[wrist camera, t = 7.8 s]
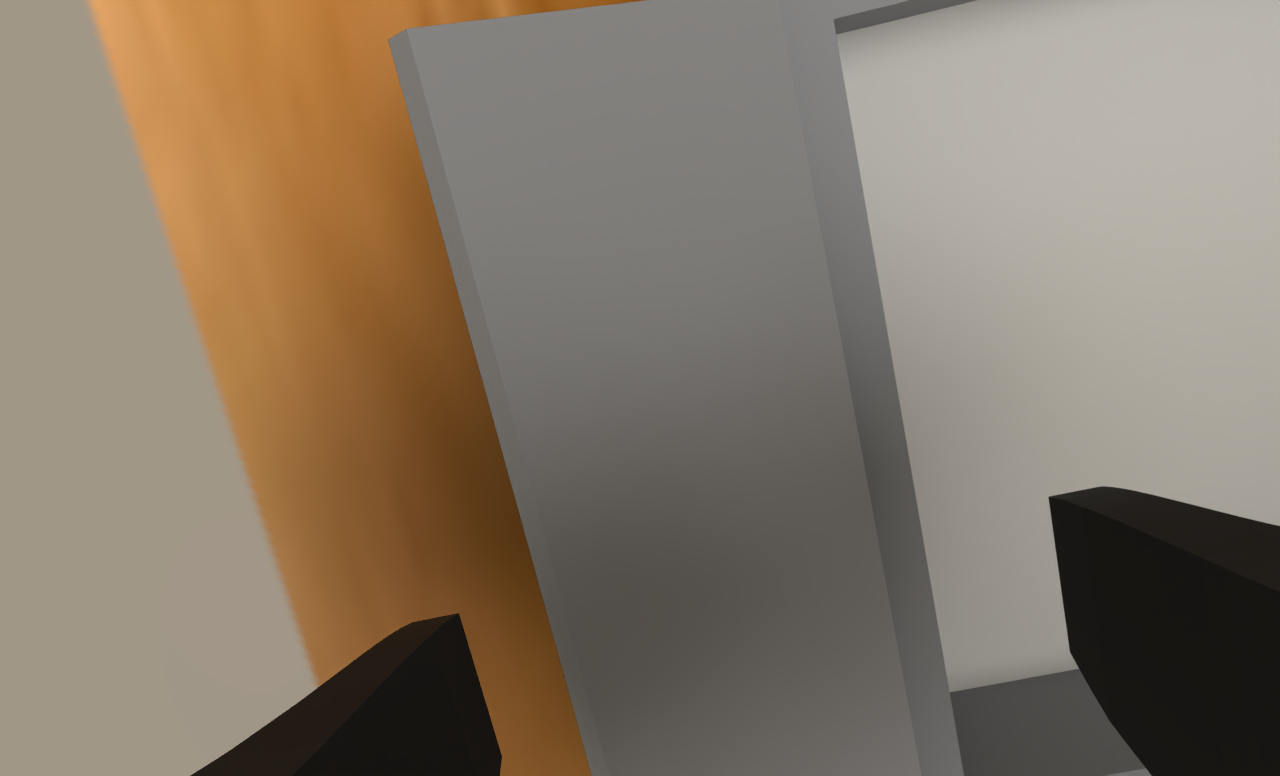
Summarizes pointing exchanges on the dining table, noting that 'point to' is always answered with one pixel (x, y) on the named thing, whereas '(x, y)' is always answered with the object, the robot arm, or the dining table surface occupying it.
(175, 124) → the dining table surface
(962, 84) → the gray open box
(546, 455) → the carton flap
